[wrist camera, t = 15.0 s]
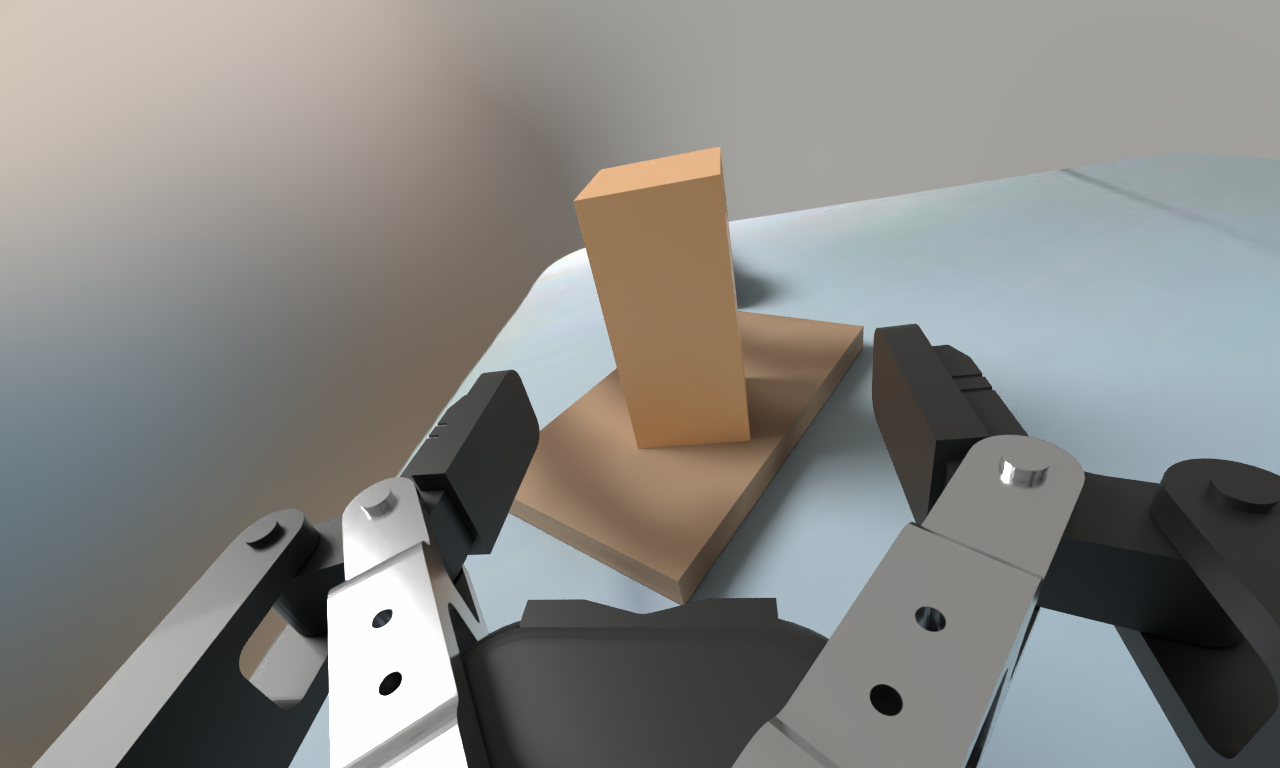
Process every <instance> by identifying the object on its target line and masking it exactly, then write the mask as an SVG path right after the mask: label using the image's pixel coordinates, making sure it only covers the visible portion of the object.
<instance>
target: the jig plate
mask: <svg viewBox="0 0 1280 768" xmlns="http://www.w3.org/2000/svg"><path fill="white" fill-rule="evenodd" d="M738 314H739V323H740V332H741V342H742V351H743V360H744V369H745V378H746V391H747V404H748V416H749V429H750V441H738V442H724V443H711V444H697V445H683V446H670V447H656V448H643V449H638V446H637V442H636V438H635V434H634V431H633V427H632V423H631V419H630V415H629V411H628V408H627V404H626V400H625V396H624V392H623V388H622V385H621V381H620V377H619V373H618V369H615V370H614V371H613V372H612V373H610V374H609V375H608V376H607V377H606V378H604V379H603V380H602V381H601V382H599V383H598V384H597V385H596V386H595V387H593V388H592V389H591V390H590V391H588V392H587V393H586V394H585V395H584V396H582V397H581V398H580V399H579V400H577V401H576V402H575V403H574V404H573V405H571V406H570V407H569V408H568V409H566V410H565V411H564V412H563V413H562V414H560V415H559V416H558V417H557V418H555V419H554V420H553V421H552V422H551V423H549V424H548V425H547V426H546V427H544V428H543V429H542V430H541V431H540V432H539V433H540V436H539V443H538V447H537V449H536V451H535V453H534V456H533V458H532V460H531V463H530V465H529V467H528V469H527V472H526V474H525V476H524V478H523V481H522V483H521V485H520V488H519V490H518V492H517V494H516V497H515V499H514V501H513V503H512V506H511V508H510V510H509V513H511V514H513V515H515V516H516V517H518V518H520V519H522V520H524V521H526V522H528V523H529V524H531V525H533V526H535V527H537V528H539V529H541V530H542V531H544V532H546V533H548V534H550V535H552V536H554V537H556V538H557V539H559V540H561V541H563V542H565V543H567V544H569V545H570V546H572V547H574V548H576V549H578V550H580V551H582V552H583V553H585V554H587V555H589V556H591V557H593V558H595V559H596V560H598V561H600V562H602V563H604V564H606V565H608V566H609V567H611V568H613V569H615V570H617V571H619V572H621V573H623V574H624V575H626V576H628V577H630V578H632V579H634V580H636V581H637V582H639V583H641V584H643V585H645V586H647V587H649V588H650V589H652V590H654V591H656V592H658V593H660V594H662V595H663V596H665V597H667V598H669V599H671V600H673V601H675V602H676V603H678V604H680V605H686V603H687V602H688V600H689V599H690V598H691V596H692V595H693V593H694V592H695V590H696V589H697V587H698V586H699V585H700V583H701V582H702V580H703V579H704V577H705V576H706V574H707V573H708V572H709V570H710V569H711V567H712V566H713V564H714V563H715V561H716V560H717V559H718V557H719V556H720V554H721V553H722V551H723V550H724V548H725V547H726V546H727V544H728V543H729V541H730V540H731V538H732V537H733V535H734V534H735V532H736V531H737V530H738V528H739V527H740V525H741V524H742V522H743V521H744V519H745V518H746V517H747V515H748V514H749V512H750V511H751V509H752V508H753V506H754V505H755V504H756V502H757V501H758V499H759V498H760V496H761V495H762V493H763V492H764V491H765V489H766V488H767V486H768V485H769V483H770V482H771V480H772V479H773V478H774V476H775V475H776V473H777V472H778V470H779V469H780V467H781V466H782V464H783V463H784V462H785V460H786V459H787V457H788V456H789V454H790V453H791V451H792V450H793V449H794V447H795V446H796V444H797V443H798V441H799V440H800V438H801V437H802V436H803V434H804V433H805V431H806V430H807V428H808V427H809V425H810V424H811V423H812V421H813V420H814V418H815V417H816V415H817V414H818V412H819V411H820V410H821V408H822V407H823V405H824V404H825V402H826V401H827V399H828V398H829V396H830V395H831V394H832V392H833V391H834V389H835V388H836V386H837V385H838V383H839V382H840V381H841V379H842V378H843V376H844V375H845V373H846V372H847V370H848V369H849V368H850V366H851V365H852V363H853V362H854V360H855V359H856V357H857V356H858V355H859V353H860V352H861V350H862V349H863V327H864V326H856V325H848V324H840V323H832V322H824V321H815V320H807V319H799V318H791V317H783V316H774V315H766V314H758V313H750V312H742V311H738Z"/></svg>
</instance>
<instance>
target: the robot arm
mask: <svg viewBox="0 0 1280 768" xmlns="http://www.w3.org/2000/svg"><path fill="white" fill-rule="evenodd" d="M872 400H873V408H874V413H875V417H876V420H877V423H878V426H879V428H880V431H881V433H882V436H883V439H884V441H885V444H886V446H887V449H888V452H889V454H890V457H891V459H892V462H893V465H894V467H895V470H896V472H897V475H898V478H899V480H900V483H901V485H902V488H903V491H904V493H905V496H906V498H907V501H908V504H909V506H910V509H911V511H912V514H913V517H914V519H915V522H916V523H914V522H910V523H908V524H907V525H906V526H905V527H904V528H903V530H902V531H901V532H900V534H899V535H898V537H897V538H896V540H895V541H894V543H893V544H892V546H891V547H890V549H889V550H888V552H887V553H886V555H885V556H884V558H883V559H882V561H881V562H880V564H879V565H878V567H877V569H876V570H875V572H874V573H873V575H872V576H871V578H870V579H869V581H868V582H867V584H866V585H865V587H864V588H863V590H862V591H861V593H860V594H859V596H858V597H857V599H856V600H855V602H854V603H853V605H852V606H851V608H850V609H849V611H848V612H847V614H846V615H845V617H844V618H843V620H842V621H841V623H840V624H839V626H838V627H837V629H836V630H835V632H834V633H833V635H832V636H831V638H830V639H828V638H827V637H825V636H823V635H821V634H819V633H817V632H815V631H813V630H811V629H808V628H806V627H803V626H800V625H798V624H795V623H792V622H789V621H785V620H781V619H778V611H777V603H776V598H710V599H706V600H702V601H698V602H694V603H690V604H686V605H682V606H677V607H673V608H669V609H665V610H661V611H657V612H653V613H649V614H637V613H633V612H629V611H626V610H622V609H618V608H614V607H610V606H607V605H603V604H599V603H595V602H591V601H588V600H528V601H527V604H526V607H525V610H524V613H523V616H522V619H521V621H518V622H515V623H512V624H510V625H507V626H505V627H502V628H500V629H498V630H496V631H494V632H492V633H490V634H489V633H488V630H487V627H486V624H485V621H484V618H483V615H482V612H481V609H480V606H479V603H478V600H477V597H476V594H475V591H474V588H473V585H472V582H471V579H470V576H469V573H468V571H467V570H466V568H465V566H464V565H463V564H464V562H465V560H466V557H467V555H479V554H490V553H491V551H492V549H493V547H494V544H495V542H496V540H497V538H498V535H499V533H500V531H501V528H502V526H503V524H504V522H505V519H506V517H507V515H508V513H509V510H510V508H511V506H512V503H513V501H514V499H515V497H516V494H517V492H518V490H519V488H520V485H521V483H522V481H523V478H524V476H525V474H526V472H527V469H528V467H529V465H530V463H531V460H532V458H533V456H534V453H535V451H536V449H537V447H538V443H539V436H540V433H539V424H538V421H537V418H536V416H535V413H534V411H533V408H532V406H531V403H530V400H529V398H528V395H527V393H526V390H525V388H524V385H523V383H522V380H521V378H520V376H519V374H518V373H517V372H516V371H514V370H506V371H497V372H489V373H483V374H481V375H480V377H479V378H478V379H477V381H476V382H475V384H474V385H473V387H472V388H471V390H470V391H469V392H468V394H467V395H465V396H464V397H462V398H461V399H460V400H459V401H457V402H456V403H455V404H454V405H452V406H451V407H450V408H449V409H448V410H447V411H446V413H445V414H444V415H443V417H442V418H441V420H440V421H439V422H438V426H437V427H435V428H434V429H433V431H432V432H431V434H430V435H429V439H426V441H425V442H424V443H423V445H422V446H421V448H420V449H419V450H418V452H417V453H416V455H415V456H414V457H413V459H412V460H411V462H410V463H409V464H408V466H407V467H406V469H405V470H404V471H403V473H402V474H401V476H400V477H395V478H390V479H386V480H383V481H381V482H378V483H376V484H374V485H372V486H370V487H369V488H367V489H366V490H364V491H363V492H361V493H360V494H359V495H358V496H356V497H355V498H354V499H353V501H351V502H350V504H349V505H348V506H347V508H346V510H345V511H344V514H343V516H341V517H338V518H335V519H332V520H328V521H325V522H322V523H318V524H315V525H312V524H311V523H310V521H309V520H308V519H307V518H306V516H305V515H304V514H303V513H302V512H301V511H300V510H298V509H284V510H280V511H277V512H275V513H272V514H269V515H267V516H265V517H263V518H262V519H260V520H258V521H256V522H255V523H254V524H252V525H250V526H249V527H248V528H247V529H245V530H244V531H243V532H242V533H241V534H240V535H239V536H238V537H237V538H236V539H235V540H234V541H233V542H232V543H231V544H230V545H229V547H228V548H227V549H226V550H225V551H224V552H223V553H222V554H221V555H220V557H219V558H218V559H217V560H216V561H215V562H214V563H213V564H212V566H211V567H210V568H209V569H208V570H207V571H206V572H205V573H204V575H203V576H202V577H201V578H200V579H199V580H198V581H197V582H196V584H195V585H194V586H193V587H192V588H191V589H190V591H188V593H187V594H186V595H185V596H184V597H183V598H182V599H181V600H180V602H179V603H178V604H177V605H176V606H175V607H174V608H173V609H172V611H171V612H170V613H169V614H168V615H167V616H166V617H165V618H164V620H163V621H162V622H161V623H160V624H159V625H158V626H157V628H156V629H155V630H154V631H153V632H152V633H151V634H150V635H149V636H148V638H147V639H146V640H145V641H144V642H143V643H142V644H141V646H140V647H139V648H138V649H137V650H136V651H135V652H134V653H133V654H132V656H131V657H130V658H129V659H128V660H127V661H126V662H125V663H124V665H123V666H122V667H121V668H120V669H119V670H118V671H117V673H115V675H114V676H113V677H112V678H111V679H110V680H109V681H108V683H107V684H106V685H105V686H104V687H103V688H102V689H101V691H99V693H98V694H97V695H96V696H95V697H94V698H93V699H92V700H91V702H90V703H89V704H88V705H87V706H86V707H85V708H84V710H83V711H82V712H81V713H80V714H79V715H78V716H77V717H76V718H75V720H74V721H73V722H72V723H71V724H70V725H69V726H68V728H67V729H66V730H65V731H64V732H63V733H62V734H61V735H60V736H59V738H58V739H57V740H56V741H55V742H54V743H53V744H52V746H51V747H50V748H49V749H48V750H47V751H46V752H45V753H44V754H43V756H42V757H41V758H40V759H39V760H38V761H37V762H36V763H35V765H34V766H33V767H32V768H288V767H289V765H290V763H291V762H292V760H293V758H294V756H295V754H296V752H297V751H298V749H299V747H300V745H301V743H302V741H303V739H304V738H305V736H306V734H307V732H308V730H309V728H310V726H311V725H312V723H313V721H314V719H315V717H316V715H317V714H318V712H319V710H320V708H321V706H322V704H323V702H324V701H325V699H326V697H327V695H328V693H329V698H330V752H331V768H978V767H979V765H980V762H981V760H982V757H983V755H984V752H985V750H986V747H987V745H988V742H989V739H990V737H991V734H992V732H993V729H994V726H995V724H996V721H997V718H998V715H999V713H1000V710H1001V707H1002V705H1003V702H1004V699H1005V697H1006V694H1007V692H1008V689H1009V687H1010V684H1011V682H1012V679H1013V677H1014V674H1015V672H1016V669H1017V667H1018V665H1019V662H1020V660H1021V657H1022V655H1023V652H1024V650H1025V647H1026V645H1027V642H1028V640H1029V637H1030V635H1031V633H1032V630H1033V628H1034V625H1035V623H1036V620H1037V618H1038V615H1039V613H1040V610H1041V608H1042V607H1043V608H1047V609H1051V610H1055V611H1059V612H1063V613H1067V614H1071V615H1075V616H1079V617H1083V618H1087V619H1091V620H1095V621H1100V622H1104V623H1108V624H1112V625H1114V626H1115V628H1116V630H1117V631H1118V633H1119V635H1120V637H1121V638H1122V640H1123V642H1124V644H1125V645H1126V647H1127V649H1128V651H1129V652H1130V654H1131V656H1132V658H1133V659H1134V661H1135V663H1136V665H1137V666H1138V668H1139V670H1140V672H1141V673H1142V675H1143V677H1144V678H1145V680H1146V682H1147V684H1148V685H1149V687H1150V689H1151V691H1152V692H1153V694H1154V696H1155V698H1156V699H1157V701H1158V703H1159V705H1160V706H1161V708H1162V710H1163V712H1164V713H1165V715H1166V717H1167V719H1168V720H1169V722H1170V724H1171V726H1172V727H1173V729H1174V731H1175V733H1176V734H1177V736H1178V738H1179V740H1180V741H1181V743H1182V745H1183V747H1184V748H1185V750H1186V752H1187V754H1188V755H1189V757H1190V759H1191V761H1192V762H1193V764H1194V766H1195V768H1280V476H1279V475H1276V474H1274V473H1272V472H1269V471H1267V470H1264V469H1261V468H1258V467H1255V466H1251V465H1247V464H1243V463H1239V462H1234V461H1228V460H1220V459H1191V460H1186V461H1181V462H1179V463H1176V464H1174V465H1172V466H1171V467H1169V468H1168V469H1167V471H1166V472H1165V473H1164V476H1163V478H1162V480H1161V482H1160V484H1158V483H1151V482H1144V481H1137V480H1130V479H1123V478H1116V477H1109V476H1103V475H1097V474H1092V473H1088V472H1085V471H1083V469H1082V467H1081V465H1080V464H1079V463H1078V461H1077V460H1076V459H1075V458H1074V457H1073V456H1072V455H1070V454H1069V453H1067V452H1066V451H1065V450H1063V449H1061V448H1059V447H1058V446H1056V445H1053V444H1051V443H1049V442H1046V441H1043V440H1040V439H1036V438H1032V437H1029V436H1028V435H1027V433H1026V432H1025V431H1024V429H1023V428H1022V427H1021V425H1020V424H1019V423H1018V421H1017V420H1016V419H1015V417H1014V416H1013V414H1012V413H1011V412H1010V410H1009V409H1008V408H1007V406H1006V405H1005V404H1004V402H1003V401H1002V400H1001V398H1000V397H999V396H998V394H997V393H996V391H995V390H992V386H991V385H990V383H989V382H988V381H987V379H986V378H985V377H982V373H981V371H980V370H979V368H978V367H977V366H976V364H975V363H974V362H973V360H972V359H971V358H970V357H969V356H967V355H965V354H964V353H962V352H960V351H958V350H957V349H955V348H953V347H951V346H950V345H941V346H931V344H930V343H929V341H928V339H927V338H926V336H925V335H924V333H923V332H922V330H921V329H920V327H919V326H918V325H917V324H909V325H900V326H892V327H883V328H877V329H876V330H875V334H874V348H873V376H872ZM271 607H273V608H274V609H275V610H276V611H277V612H278V613H279V614H280V615H281V616H282V617H283V618H284V619H285V620H286V621H287V622H288V623H289V626H288V627H287V629H286V630H285V632H284V633H283V635H282V636H281V638H280V639H279V641H278V642H277V643H276V645H275V646H274V648H273V649H272V651H271V652H270V654H269V655H268V657H267V658H266V660H265V661H264V663H263V664H262V666H261V667H260V669H259V670H258V672H257V673H256V675H255V676H254V678H253V679H252V681H251V682H249V681H248V680H247V679H246V678H245V677H243V675H242V674H241V672H240V669H239V657H240V654H241V651H242V649H243V647H244V645H245V644H246V642H247V641H248V639H249V638H250V637H251V635H252V634H253V632H254V631H255V629H256V628H257V627H258V625H259V624H260V623H261V621H262V620H263V618H264V617H265V616H266V614H267V613H268V612H269V610H270V609H271Z"/></svg>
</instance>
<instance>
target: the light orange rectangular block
mask: <svg viewBox="0 0 1280 768" xmlns="http://www.w3.org/2000/svg"><path fill="white" fill-rule="evenodd" d="M574 205H575V208H576V212H577V216H578V220H579V224H580V228H581V231H582V235H583V239H584V243H585V247H586V251H587V254H588V258H589V262H590V266H591V270H592V274H593V277H594V281H595V285H596V289H597V293H598V297H599V300H600V304H601V308H602V312H603V316H604V320H605V323H606V327H607V331H608V335H609V339H610V343H611V346H612V350H613V354H614V358H615V362H616V365H617V369H618V373H619V377H620V381H621V385H622V388H623V392H624V396H625V400H626V404H627V408H628V411H629V415H630V419H631V423H632V427H633V431H634V434H635V438H636V442H637V446H638V449H643V448H656V447H670V446H683V445H697V444H711V443H724V442H738V441H750V429H749V416H748V404H747V391H746V378H745V369H744V360H743V351H742V342H741V332H740V323H739V314H738V305H737V296H736V287H735V278H734V269H733V260H732V250H731V241H730V232H729V223H728V214H727V206H726V196H725V187H724V178H723V168H722V160H721V150H720V147H716V148H711V149H705V150H700V151H695V152H690V153H685V154H679V155H674V156H669V157H664V158H659V159H654V160H649V161H644V162H638V163H633V164H628V165H623V166H617V167H612V168H607V169H602V170H600V171H599V172H598V173H597V175H596V176H595V177H594V178H593V179H592V180H591V182H590V183H589V184H588V185H587V186H586V187H585V188H584V190H583V191H582V192H581V193H580V194H579V195H578V197H577V198H576V199H575V200H574Z"/></svg>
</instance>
